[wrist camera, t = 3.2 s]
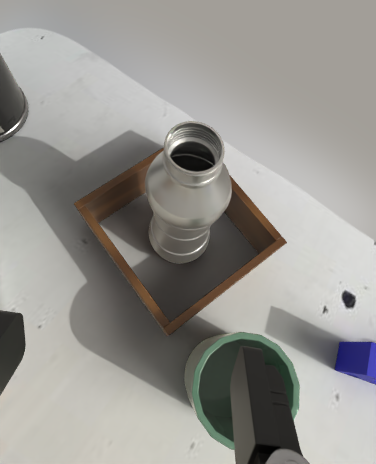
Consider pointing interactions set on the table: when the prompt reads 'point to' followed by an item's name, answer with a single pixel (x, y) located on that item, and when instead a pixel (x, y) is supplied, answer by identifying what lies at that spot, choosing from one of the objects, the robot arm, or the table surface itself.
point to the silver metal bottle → (187, 191)
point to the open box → (133, 186)
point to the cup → (229, 379)
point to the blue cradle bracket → (357, 360)
